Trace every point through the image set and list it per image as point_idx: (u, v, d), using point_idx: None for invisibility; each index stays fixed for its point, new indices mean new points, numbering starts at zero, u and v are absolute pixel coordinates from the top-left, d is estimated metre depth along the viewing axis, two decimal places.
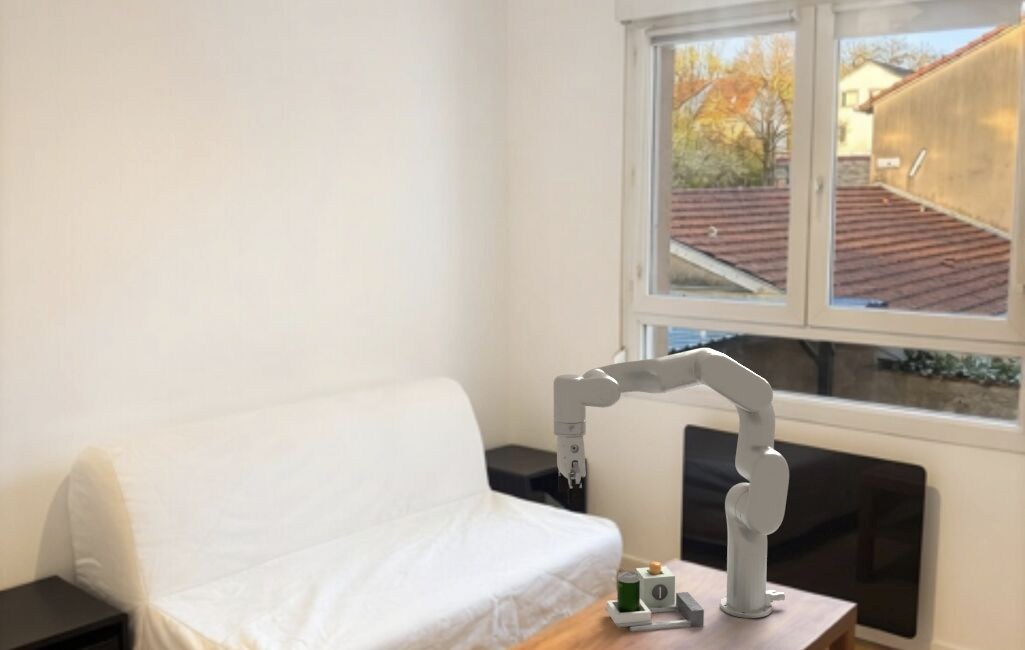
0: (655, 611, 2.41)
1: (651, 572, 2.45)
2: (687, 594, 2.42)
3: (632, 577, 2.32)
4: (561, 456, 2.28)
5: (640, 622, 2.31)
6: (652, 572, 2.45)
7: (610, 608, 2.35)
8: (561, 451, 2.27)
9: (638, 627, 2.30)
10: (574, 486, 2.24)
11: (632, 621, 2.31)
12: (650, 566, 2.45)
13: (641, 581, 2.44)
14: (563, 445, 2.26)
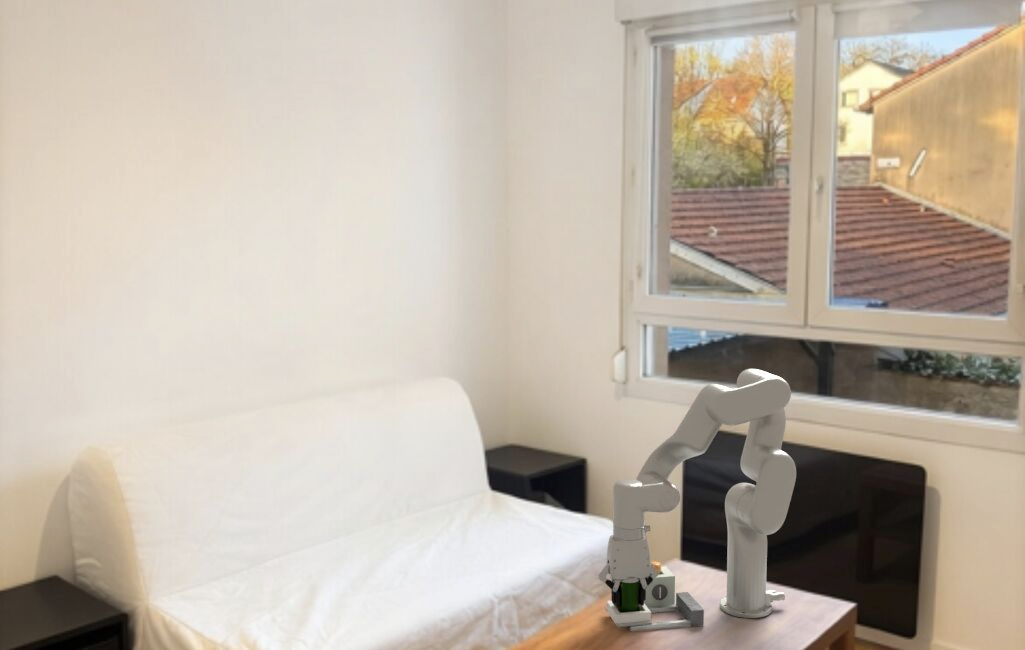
0: (655, 611, 2.41)
1: None
2: (687, 594, 2.42)
3: None
4: (638, 560, 2.31)
5: (640, 622, 2.31)
6: None
7: (610, 608, 2.35)
8: (639, 555, 2.31)
9: (638, 627, 2.30)
10: None
11: (632, 621, 2.31)
12: None
13: None
14: (644, 547, 2.31)
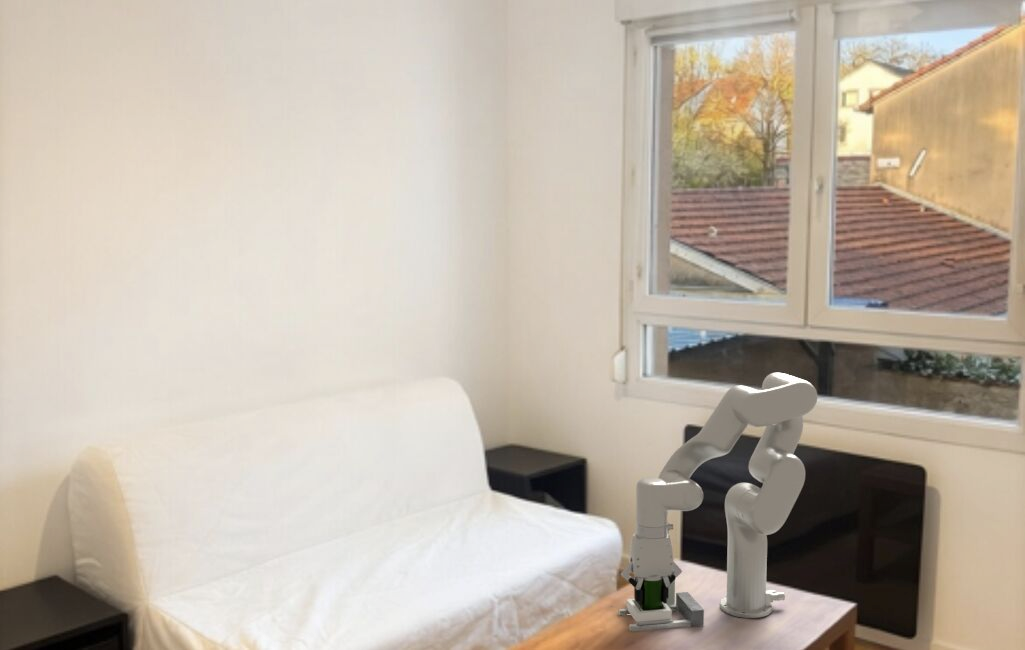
0: None
1: None
2: (687, 594, 2.42)
3: None
4: (661, 558, 2.32)
5: (661, 620, 2.32)
6: None
7: (631, 606, 2.36)
8: (662, 553, 2.32)
9: (638, 627, 2.30)
10: None
11: (653, 619, 2.32)
12: None
13: None
14: (667, 546, 2.32)
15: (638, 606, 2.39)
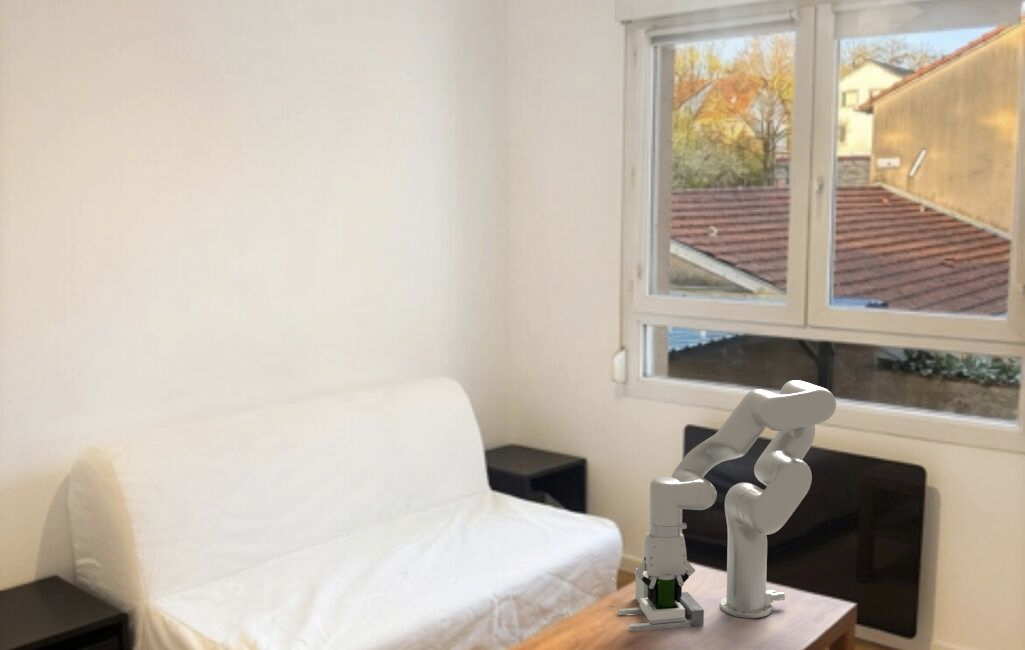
0: None
1: None
2: (687, 594, 2.42)
3: None
4: (675, 557, 2.33)
5: (674, 619, 2.32)
6: None
7: (644, 605, 2.37)
8: (675, 552, 2.33)
9: (638, 627, 2.30)
10: None
11: (666, 618, 2.32)
12: None
13: (641, 581, 2.44)
14: (680, 545, 2.33)
15: (651, 605, 2.39)
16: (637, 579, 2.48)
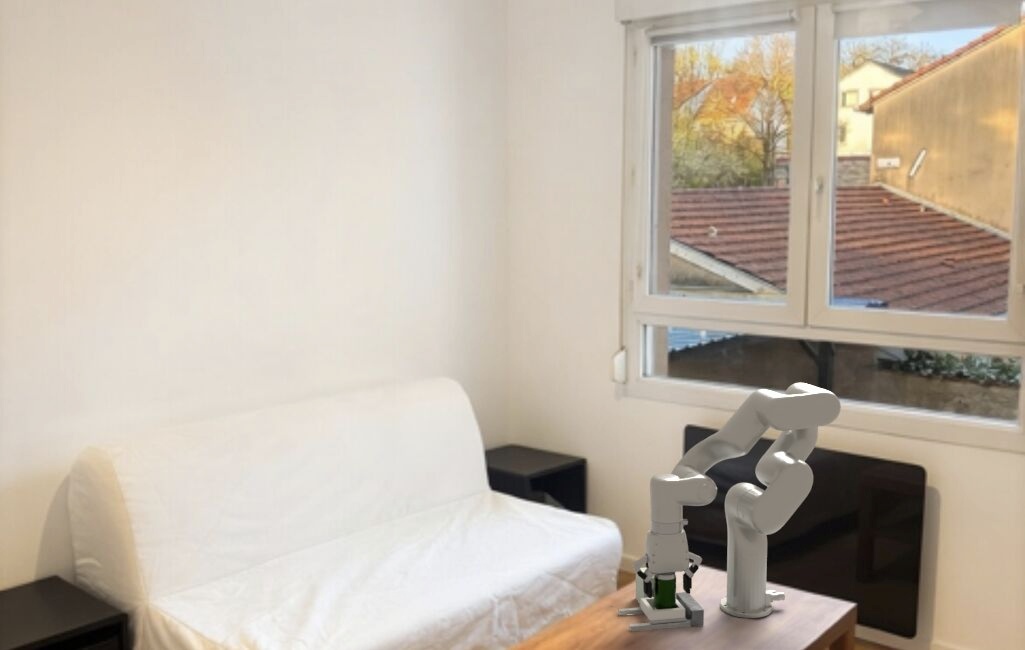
0: None
1: None
2: (687, 594, 2.42)
3: (669, 574, 2.34)
4: (677, 554, 2.33)
5: (675, 619, 2.32)
6: None
7: (644, 605, 2.37)
8: (677, 549, 2.33)
9: (638, 627, 2.30)
10: None
11: (667, 618, 2.32)
12: None
13: (641, 581, 2.44)
14: (682, 541, 2.33)
15: (651, 605, 2.39)
16: (637, 579, 2.48)
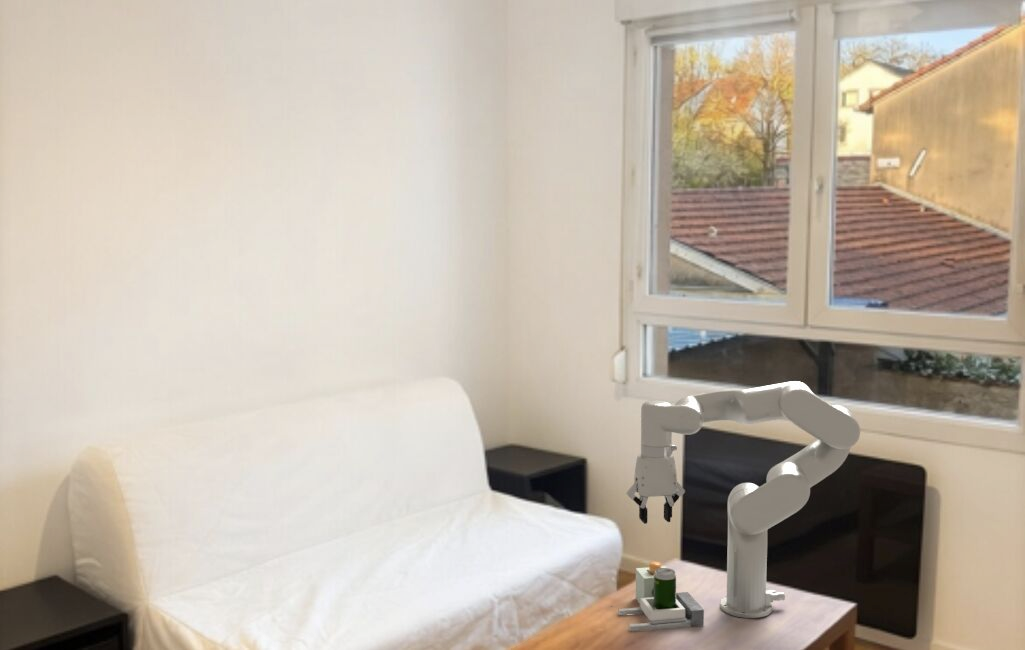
0: None
1: (651, 572, 2.45)
2: (687, 594, 2.42)
3: (669, 574, 2.34)
4: (665, 477, 2.41)
5: (675, 619, 2.32)
6: (652, 572, 2.45)
7: (644, 605, 2.37)
8: (666, 473, 2.41)
9: (638, 627, 2.30)
10: None
11: (667, 618, 2.32)
12: (650, 566, 2.45)
13: (641, 581, 2.44)
14: (670, 465, 2.41)
15: (651, 605, 2.39)
16: (637, 579, 2.48)
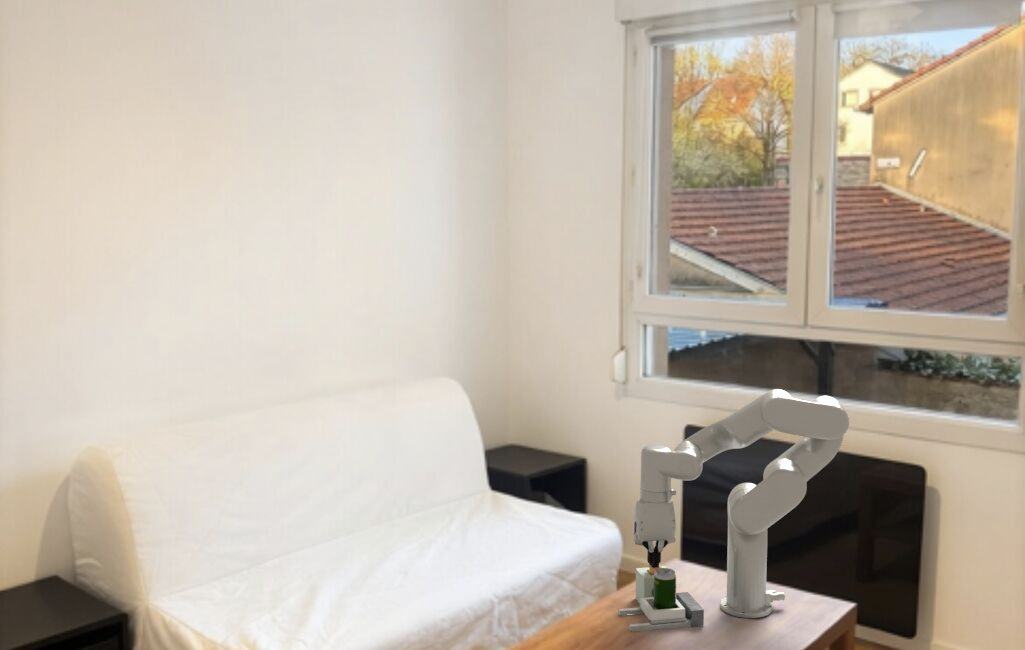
0: None
1: (651, 574, 2.45)
2: (687, 594, 2.42)
3: (669, 574, 2.34)
4: (664, 522, 2.42)
5: (675, 619, 2.32)
6: (652, 574, 2.45)
7: (644, 605, 2.37)
8: (665, 517, 2.42)
9: (638, 627, 2.30)
10: None
11: (667, 618, 2.32)
12: (650, 568, 2.45)
13: (641, 581, 2.44)
14: (669, 510, 2.42)
15: (651, 605, 2.39)
16: (637, 579, 2.48)
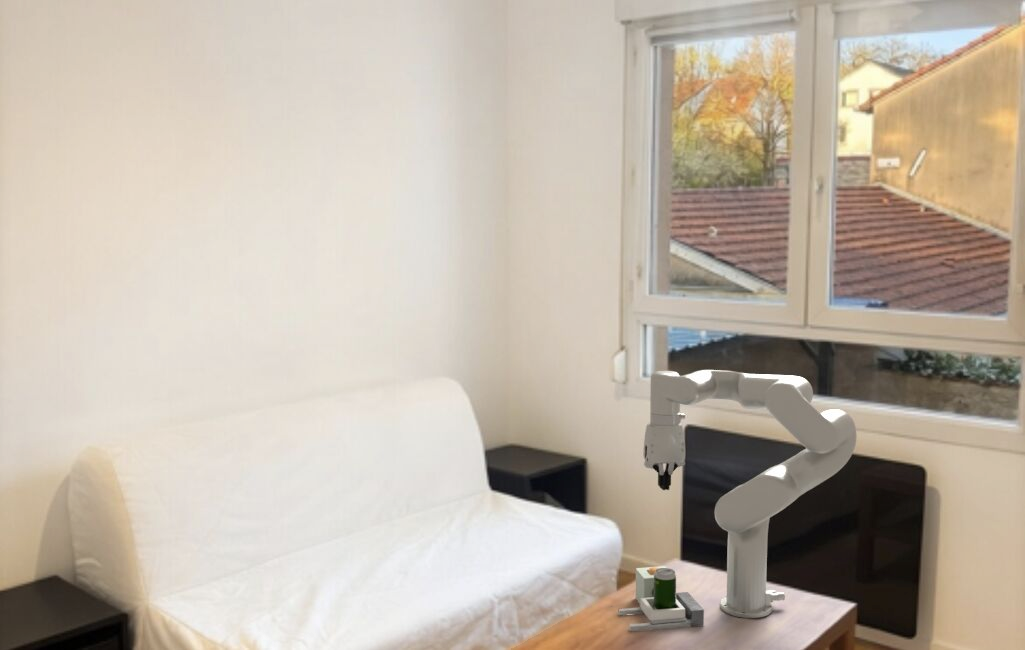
0: None
1: None
2: (687, 594, 2.42)
3: (669, 574, 2.34)
4: (674, 445, 2.49)
5: (675, 619, 2.32)
6: None
7: (644, 605, 2.37)
8: (674, 440, 2.49)
9: (638, 627, 2.30)
10: None
11: (667, 618, 2.32)
12: (650, 572, 2.45)
13: (641, 581, 2.44)
14: (679, 433, 2.49)
15: (651, 605, 2.39)
16: (637, 579, 2.48)
